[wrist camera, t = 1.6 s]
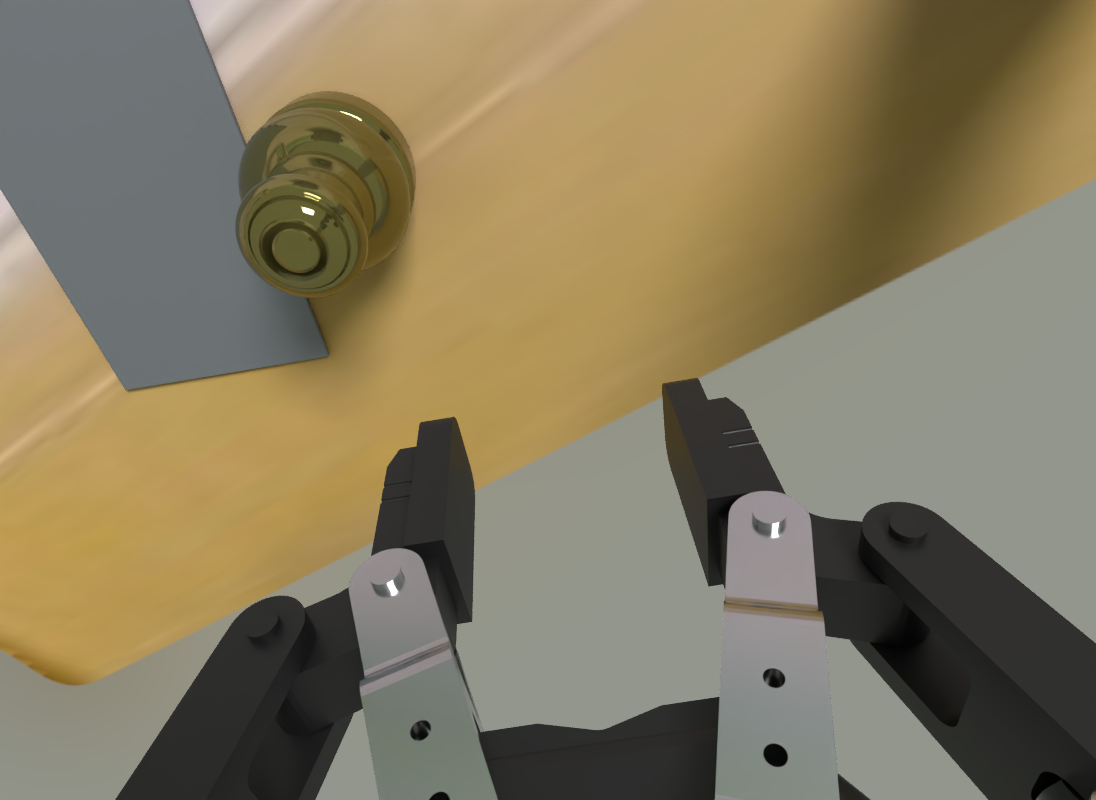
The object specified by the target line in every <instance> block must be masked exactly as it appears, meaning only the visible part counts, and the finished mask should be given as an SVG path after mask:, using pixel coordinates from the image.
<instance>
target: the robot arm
mask: <svg viewBox="0 0 1096 800" xmlns="http://www.w3.org/2000/svg"><path fill="white" fill-rule="evenodd" d="M662 395H663V410H664V426H665V441H666V449H667V454H668V459H669V464H670V467H671V471H672V474H673V477H674V480H675V483H676V486H677V489H678V492H679V495H680V499H681V502H682V505H683V508H684V511H685V514H686V517H687V520H688V524H689V527H690V529H691V533H692V536H693V539H694V542H695V545H696V548H697V552H698V555H699V558H700V561H701V564H702V567H703V570H704V573H705V576H706V579H707V582H708V586H714V585H720V584H723V585H724V588H725V601H724V609H723V631H722V632H723V633H722V653H721V675H720V676H721V677H720V697H716V698H709V699H702V700H695V701H688V702H682V703H675V704H669V705H662V706H659V707H657V708H654V709H652V710H650V711H648V712H645V713H643V714H640V715H638V716H636V717H633V718H631V719H628V720H626V721H624V722H621V723H619V724H617V725H615V726H612V727H610V728H607V729H604V730H589V729H580V728H571V727H562V726H553V725H544V724H533V725H526V726H519V727H513V728H506V729H499V730H493V731H485V732H484V730H483V727H482V725H481V722H480V718H479V715H478V712H477V709H476V706H475V703H474V700H473V697H472V694H471V691H470V688H469V685H468V682H467V679H466V676H465V673H464V670H463V667H462V664H461V660H460V657H459V654H458V652H457V649H456V631H457V630H456V629H457V624H460V623H467V622H472V602H473V561H474V559H473V558H474V520H475V489H474V481H473V476H472V471H471V467H470V464H469V460H468V457H467V454H466V450H465V447H464V443H463V440H462V436H461V433H460V429H459V426H458V423H457V420H456V418H455V417H451V418H445V419H438V420H432V421H426V422H421V423H420V425H419V432H418V440H417V447H411V448H405V449H400V450H399V451H398V453H397V454H396V455H395V457H394V458H393V460H392V461H391V462H390V464H389V465H388V467H387V471H386V477H385V482H384V489H383V493H382V499H381V500H382V503H381V504H380V510H379V515H378V521H377V526H376V532H375V537H374V543H373V548H372V554H371V557H369V558H368V559H367V560H365V561H364V562H363V563H362V564H361V565H360V566H359V567H358V568H357V569H356V570H355V572H354V573H353V575H352V577H351V580H350V583H349V587H348V588H347V589H345V590H343V591H342V592H340V593H339V594H336V595H334V596H332V597H330V598H327V599H325V600H322V601H320V602H318V603H315V604H313V605H311V606H308V607H306V608H304V607H303V606H302V604H301V603H300V602H299V601H298V600H296V599H295V598H292V597H289V596H274V597H270V598H266V599H263V600H261V601H259V602H257V603H255V604H253V605H251V606H250V607H248V608H247V609H246V610H244V611H243V612H242V613H241V614H240V615H239V616H238V617H237V618H236V619H235V620H234V622H233V623H232V624H231V626H230V627H229V629H228V630H227V632H226V633H225V635H224V636H223V638H222V639H221V641H220V642H219V644H218V645H217V647H216V648H215V650H214V651H213V653H212V654H211V656H210V657H209V659H208V660H207V662H206V663H205V665H204V667H203V668H202V670H201V671H200V673H199V674H198V676H197V677H196V679H195V680H194V682H193V683H192V685H191V686H190V688H189V689H188V691H187V692H186V694H185V695H184V697H183V698H182V700H181V701H180V703H179V704H178V706H177V707H176V709H175V711H174V712H173V714H172V715H171V716H170V718H169V720H168V721H167V722H166V724H165V725H164V727H163V729H162V730H161V731H160V733H159V735H158V736H157V738H156V739H155V741H154V742H153V744H152V745H151V747H150V748H149V750H148V751H147V753H146V754H145V756H144V757H143V759H142V760H141V762H140V763H139V765H138V766H137V768H136V769H135V771H134V773H133V774H132V775H131V777H130V778H129V780H128V781H127V783H126V784H125V786H124V787H123V789H122V790H121V792H120V793H119V795H118V797H117V798H116V800H315V799H316V797H317V795H318V792H319V790H320V788H321V786H322V784H323V781H324V779H325V777H326V775H327V772H328V770H329V768H330V766H331V763H332V761H333V759H334V757H335V754H336V752H337V750H338V748H339V746H340V743H341V741H342V738H343V737H344V734H345V732H346V730H347V728H348V726H349V723H350V721H351V719H352V716H353V713H354V712H357V711H359V710H361V709H363V711H364V717H365V722H366V728H367V734H368V739H369V744H370V750H371V756H372V762H373V767H374V773H375V778H376V784H377V789H378V795H379V800H870V799H869V798H868V797H866V796H865V795H864V794H863V793H862V792H860V791H859V790H858V789H857V788H855V787H854V786H853V785H852V784H850V783H849V782H848V781H847V780H845V779H844V778H843V777H842V776H840V775H839V774H838V773H837V763H836V751H835V740H834V728H833V717H832V705H831V694H830V683H829V672H828V661H827V650H826V649H827V648H826V637H825V636H829V637H837V638H844V639H850V641H851V642H852V644H853V645H854V646H855V647H856V649H857V650H858V651H859V652H860V653H861V654H862V655H863V656H864V658H865V659H866V660H867V661H868V662H869V663H870V664H871V666H872V667H873V668H874V669H875V670H876V672H877V673H878V674H879V675H880V676H881V677H882V678H883V680H884V681H885V682H886V683H887V684H888V685H889V686H890V688H891V689H892V690H893V691H894V692H895V693H896V694H897V696H898V697H899V698H900V699H901V700H902V701H903V702H904V704H905V705H906V706H907V707H908V708H909V709H910V710H911V711H912V713H913V714H914V715H915V716H916V717H917V718H918V719H919V721H920V722H921V723H922V724H923V725H924V726H925V728H926V729H927V730H928V731H929V732H930V733H931V735H932V736H933V737H934V738H935V739H936V740H937V741H938V743H939V744H940V745H941V746H942V747H943V748H944V749H945V750H946V752H947V753H948V754H949V755H950V756H951V757H952V759H953V760H954V761H955V762H956V763H957V764H958V765H959V767H960V768H961V769H962V770H963V771H964V772H965V773H966V775H967V776H968V777H969V778H970V779H971V780H972V781H973V783H974V784H975V785H976V786H977V787H978V788H979V790H980V791H981V792H982V793H983V794H984V795H985V796H986V798H987V799H988V800H1096V643H1094V642H1093V641H1092V640H1091V639H1090V638H1088V637H1087V636H1086V635H1085V634H1083V633H1082V632H1081V631H1080V630H1079V629H1077V628H1076V627H1075V626H1074V625H1073V624H1071V623H1070V622H1069V621H1068V620H1066V619H1065V618H1064V617H1063V616H1062V615H1060V614H1059V613H1058V612H1057V611H1055V610H1054V609H1053V608H1052V607H1050V606H1049V605H1048V604H1047V603H1046V602H1044V601H1043V600H1042V599H1041V598H1040V597H1038V596H1037V595H1036V594H1035V593H1033V592H1032V591H1031V590H1030V589H1029V588H1027V587H1026V586H1025V585H1024V584H1022V583H1021V582H1020V581H1019V580H1017V579H1016V578H1015V577H1014V576H1013V575H1011V574H1010V573H1009V572H1008V571H1006V570H1005V569H1004V568H1003V567H1001V566H1000V565H999V564H998V563H997V562H995V561H994V560H993V559H992V558H991V557H989V556H988V555H987V554H986V553H984V552H983V551H982V550H981V549H979V548H978V547H977V546H976V545H975V544H973V543H972V542H971V541H970V540H969V539H967V538H966V537H965V536H964V535H962V534H961V533H960V532H959V531H957V530H956V529H955V528H954V527H953V526H951V525H950V524H949V523H948V522H947V521H945V520H944V519H943V518H942V517H940V516H939V515H937V514H936V513H934V512H933V511H931V510H929V509H927V508H924V507H922V506H919V505H916V504H911V503H906V502H890V503H884V504H880V505H878V506H876V507H874V508H872V509H871V510H869V511H868V512H867V513H866V515H865V516H864V518H863V521H862V522H858V521H848V520H837V519H829V518H824V517H820V516H816V515H813V514H811V513H808V511H807V510H806V509H805V507H804V506H803V505H802V504H801V503H800V502H798V501H797V500H796V499H794V498H792V497H790V496H788V495H786V494H785V492H784V490H783V488H782V486H781V484H780V482H779V480H778V478H777V476H776V474H775V472H774V470H773V468H772V466H771V464H770V462H769V460H768V458H767V456H766V454H765V452H764V451H763V448H762V446H761V444H759V441H758V438H757V436H756V434H755V432H754V430H752V426H751V424H750V423H749V420H748V419H747V417H746V414H745V413H744V411H743V410H742V409H741V408H740V407H738V406H737V405H736V404H734V403H733V402H732V401H730V400H729V399H728V398H726V397H725V398H718V399H712V400H708V399H707V397H706V395H705V393H704V390H703V388H702V386H701V384H700V381H699V380H698V378H694V379H688V380H682V381H676V382H669V383H663V385H662Z"/></svg>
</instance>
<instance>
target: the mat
mask: <svg viewBox="0 0 1096 800" xmlns="http://www.w3.org/2000/svg"><path fill="white" fill-rule="evenodd" d="M245 147H246V142H245V140H244V137H243V135H242V132H241V130H240V127H239V125H238V122H237V120H236V117H235V115H234V112H233V110H232V107H231V105H230V102H229V100H228V97H227V95H226V92H225V89H224V87H223V84H222V82H221V79H220V77H219V74H218V72H217V69H216V67H215V64H214V62H213V59H212V57H211V54H210V52H209V49H208V47H207V44H206V42H205V39H204V37H203V34H202V31H201V29H200V26H199V24H198V21H197V19H196V16H195V14H194V11H193V9H192V6H191V4H190V1H189V0H0V189H1V191H2V192H3V194H4V196H5V197H6V199H7V200H8V202H9V204H10V205H11V207H12V208H13V210H14V212H15V213H16V215H17V216H18V218H19V220H20V221H21V223H22V224H23V226H24V228H25V229H26V231H27V232H28V234H29V236H30V237H31V239H32V240H33V242H34V244H35V245H36V247H37V248H38V250H39V252H40V253H41V255H42V257H43V258H44V260H45V261H46V263H47V265H48V266H49V268H50V269H51V271H52V273H53V274H54V276H55V277H56V279H57V281H58V282H59V284H60V285H61V287H62V289H63V290H64V292H65V293H66V295H67V297H68V298H69V300H70V301H71V303H72V305H73V306H74V308H75V309H76V311H77V313H78V314H79V316H80V317H81V319H82V321H83V322H84V324H85V326H86V327H87V329H88V330H89V332H90V334H91V335H92V337H93V338H94V340H95V342H96V343H97V345H98V346H99V348H100V350H101V351H102V353H103V354H104V356H105V358H106V359H107V361H108V362H109V364H110V366H111V367H112V369H113V370H114V372H115V374H116V375H117V377H118V378H119V380H120V382H121V383H122V385H123V387H124V388H125V390H130V389H136V388H142V387H148V386H154V385H160V384H166V383H172V382H178V381H184V380H190V379H196V378H202V377H208V376H214V375H220V374H226V373H232V372H238V371H244V370H250V369H256V368H262V367H268V366H274V365H280V364H286V363H292V362H298V361H304V360H310V359H316V358H322V357H328V356H329V352H328V349H327V347H326V344H325V342H324V339H323V337H322V334H321V332H320V329H319V327H318V324H317V322H316V319H315V316H314V314H313V311H312V309H311V306H310V304H309V301H308V299H307V298H304V297H298V296H293V295H290V294H287V293H284V292H282V291H280V290H277V289H276V288H274V287H272V286H270V285H269V284H267V283H266V282H265V281H263V280H262V279H261V278H260V277H259V276H258V275H257V274H256V273H255V272H254V271H253V270H252V269H251V268H250V267H249V265H248V264H247V262H246V261H245V259H244V257H243V255H242V254H241V251H240V249H239V246H238V243H237V239H236V232H235V223H236V216H237V212H238V209H239V207H240V204H241V200H240V195H239V189H238V171H239V165H240V161H241V157H242V154H243V152H244V149H245Z"/></svg>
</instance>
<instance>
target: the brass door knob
mask: <svg viewBox="0 0 1096 800" xmlns="http://www.w3.org/2000/svg"><path fill="white" fill-rule="evenodd" d="M415 181H416V176H415V166H414V160H413V157H412V153H411V151H410V148H409V146H408V144H407V141H406V140H405V138H404V136H403V134H402V133H401V131H400V130H399V129H398V127H397V126H396V125H395V124H394V122H393V121H392V120H391V119H390V118H389V117H388V116H387V115H386V114H385V113H383V112H382V111H381V110H380V109H378V108H377V107H375V106H374V105H372V104H371V103H369V102H367V101H365V100H363V99H361V98H358V97H356V96H353V95H350V94H346V93H341V92H331V91H325V92H315V93H311V94H307V95H304V96H301V97H299V98H297V99H295V100H293V101H292V102H290V103H289V104H287V105H286V106H285V107H284V108H282V109H281V110H279V111H278V112H276V113H275V114H274V115H273V116H272V117H271V118H270V119H269V120H268V121H267V122H266V123H265V124H264V125H263V126H262V127H260V128H259V129H258V130H257V131H256V133H255V134H254V135H253V136H252V137H251V139H250V140H249V142H248V143H247V145H246V147H245V149H244V152H243V154H242V157H241V161H240V165H239V171H238V189H239V195H240V200H241V204H240V207H239V209H238V212H237V216H236V223H235V232H236V239H237V243H238V246H239V249H240V251H241V254H242V255H243V257H244V259H245V261H246V262H247V264H248V265H249V267H250V268H251V269H252V270H253V271H254V272H255V273H256V274H257V275H258V276H259V277H260V278H261V279H262V280H263V281H265V282H266V283H267V284H269V285H270V286H272V287H274V288H276V289H277V290H280V291H282V292H284V293H287V294H290V295H293V296H298V297H304V298H320V297H326V296H330V295H333V294H336V293H338V292H340V291H342V290H343V289H345V288H346V287H348V286H349V285H350V284H351V283H352V282H353V281H354V280H355V279H356V278H357V276H358V275H359V274H360V272H362V271H365V270H368V269H370V268H372V267H374V266H375V265H377V264H379V263H380V262H382V261H383V260H384V259H385V258H387V257H388V256H389V255H390V254H391V253H392V252H393V251H394V250H395V248H396V247H397V246H398V244H399V243H400V241H401V239H402V237H403V235H404V233H405V230H406V228H407V224H408V220H409V215H410V212H411V209H412V205H413V199H414V190H415Z"/></svg>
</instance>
